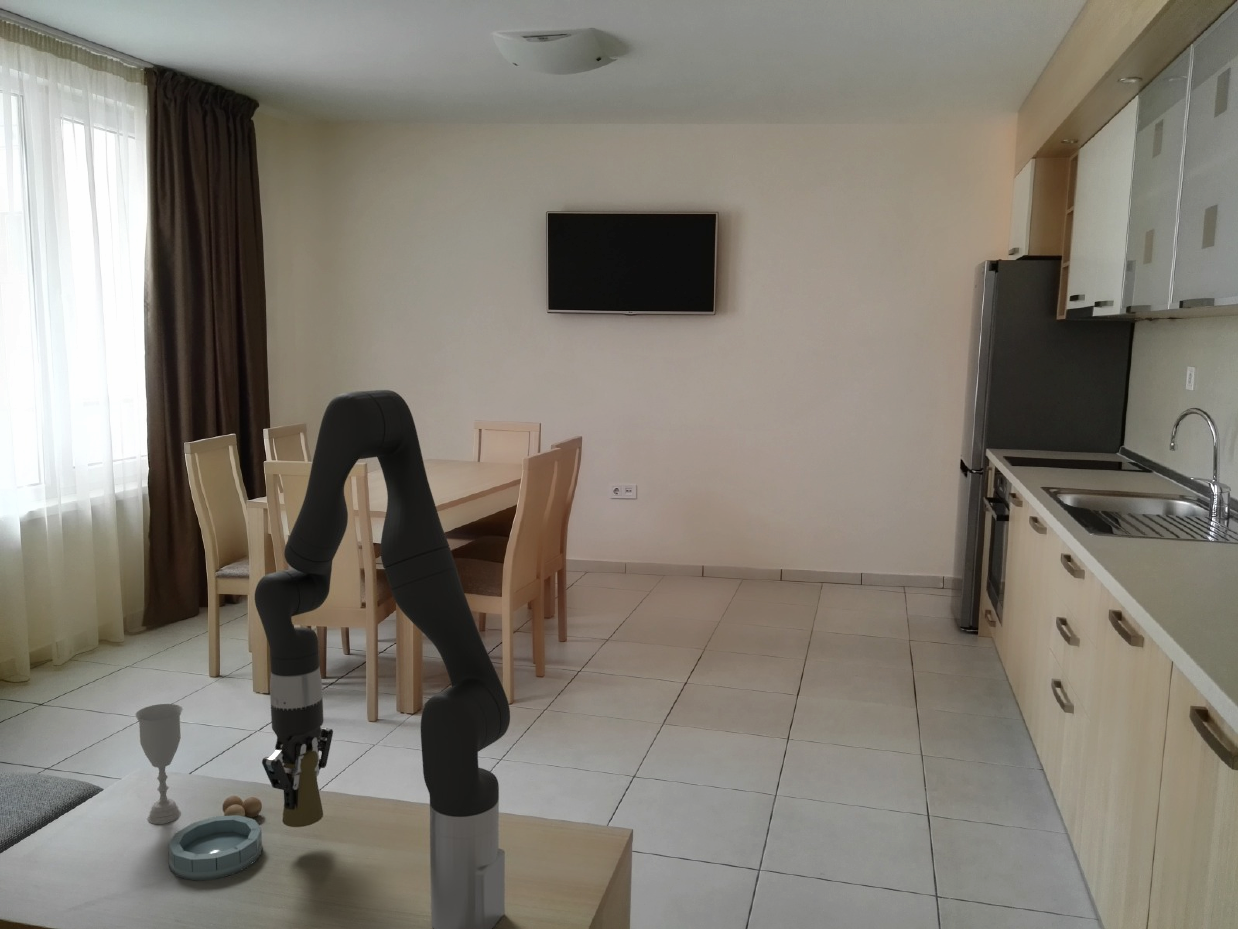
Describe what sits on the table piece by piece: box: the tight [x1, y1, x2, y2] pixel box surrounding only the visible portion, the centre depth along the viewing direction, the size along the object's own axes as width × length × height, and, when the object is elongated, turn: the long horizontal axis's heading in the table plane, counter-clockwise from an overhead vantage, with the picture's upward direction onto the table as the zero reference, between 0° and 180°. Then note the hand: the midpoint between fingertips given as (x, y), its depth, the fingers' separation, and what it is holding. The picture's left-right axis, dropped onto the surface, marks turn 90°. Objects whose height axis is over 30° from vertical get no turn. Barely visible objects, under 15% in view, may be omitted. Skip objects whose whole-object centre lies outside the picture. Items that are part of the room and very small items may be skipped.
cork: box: [282, 750, 324, 828], centre depth 144 cm, size 6×6×11 cm
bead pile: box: [222, 795, 263, 819], centre depth 153 cm, size 6×6×3 cm
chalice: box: [135, 703, 184, 825], centre depth 153 cm, size 7×7×18 cm
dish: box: [167, 815, 263, 881], centre depth 143 cm, size 13×13×3 cm
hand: (301, 804), depth 145 cm, fingers closed on cork, 3 cm apart
